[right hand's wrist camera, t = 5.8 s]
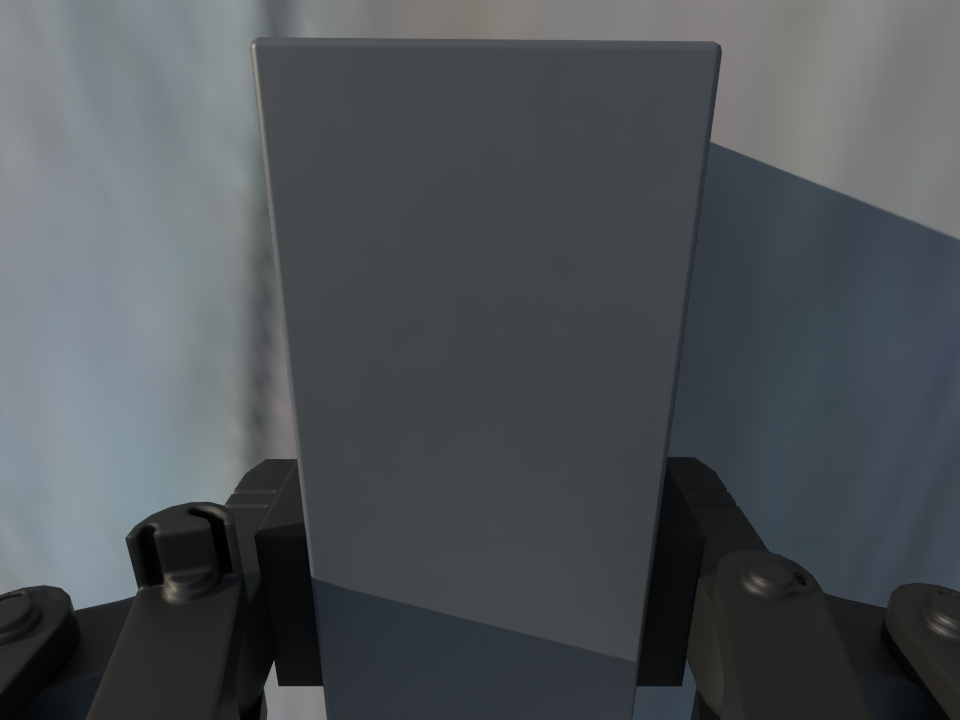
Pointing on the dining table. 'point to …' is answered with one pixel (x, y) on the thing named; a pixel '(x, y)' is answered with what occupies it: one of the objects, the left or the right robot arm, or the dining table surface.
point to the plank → (482, 355)
